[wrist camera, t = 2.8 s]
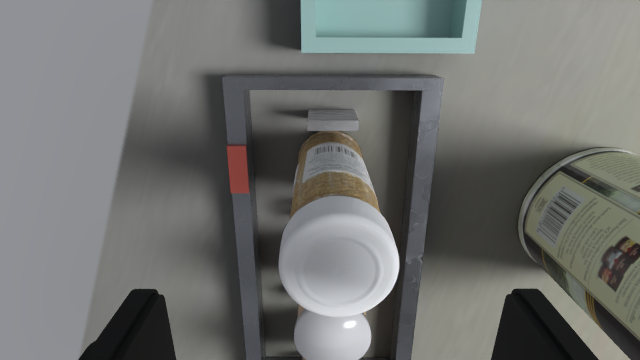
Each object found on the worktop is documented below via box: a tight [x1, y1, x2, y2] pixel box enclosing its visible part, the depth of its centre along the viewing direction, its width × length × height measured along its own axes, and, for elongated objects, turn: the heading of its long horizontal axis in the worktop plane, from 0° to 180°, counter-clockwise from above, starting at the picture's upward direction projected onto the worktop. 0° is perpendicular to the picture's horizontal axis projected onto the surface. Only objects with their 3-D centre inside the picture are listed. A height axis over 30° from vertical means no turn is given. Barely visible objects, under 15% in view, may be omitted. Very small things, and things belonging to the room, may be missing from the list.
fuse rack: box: [222, 74, 444, 360], centre depth 27 cm, size 13×24×4 cm, turn 0°
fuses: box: [294, 305, 371, 360], centre depth 26 cm, size 4×11×9 cm, turn 0°
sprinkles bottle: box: [279, 131, 399, 317], centre depth 20 cm, size 5×5×14 cm
